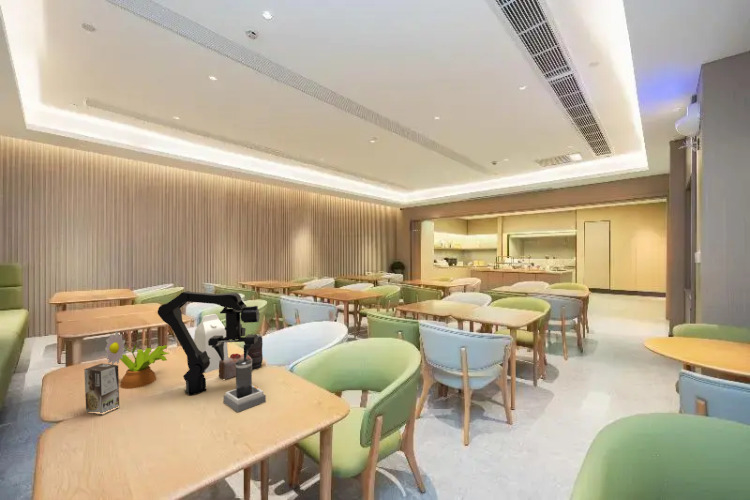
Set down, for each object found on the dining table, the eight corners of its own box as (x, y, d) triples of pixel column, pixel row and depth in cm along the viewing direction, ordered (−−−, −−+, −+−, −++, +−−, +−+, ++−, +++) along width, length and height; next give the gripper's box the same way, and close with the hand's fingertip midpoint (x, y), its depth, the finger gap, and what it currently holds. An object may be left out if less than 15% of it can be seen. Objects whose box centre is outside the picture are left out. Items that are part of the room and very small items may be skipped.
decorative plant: (93, 388, 146) (91, 330, 146) (149, 368, 168) (147, 318, 168) (135, 397, 136) (133, 335, 136) (188, 375, 158) (187, 322, 158)
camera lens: (265, 364, 172) (265, 334, 172) (258, 370, 164) (257, 339, 164) (250, 364, 173) (249, 334, 173) (242, 369, 165) (241, 339, 165)
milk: (216, 361, 178) (215, 311, 178) (228, 365, 171) (227, 314, 171) (193, 368, 168) (191, 315, 168) (205, 373, 162) (203, 318, 161)
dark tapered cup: (236, 400, 127) (235, 365, 127) (236, 393, 132) (235, 360, 132) (252, 397, 129) (251, 363, 129) (252, 391, 134) (251, 358, 134)
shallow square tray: (237, 412, 123) (237, 400, 122) (223, 402, 131) (223, 391, 131) (265, 401, 131) (265, 390, 131) (250, 392, 139) (250, 382, 139)
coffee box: (120, 407, 128) (119, 365, 127) (101, 416, 122) (100, 371, 121) (103, 404, 131) (102, 362, 130) (84, 412, 125) (83, 368, 124)
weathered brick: (245, 368, 167) (244, 348, 167) (253, 372, 162) (253, 351, 161) (217, 377, 156) (216, 355, 156) (225, 381, 151) (224, 359, 151)
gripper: (261, 318, 151) (262, 353, 151) (218, 319, 150) (219, 354, 151) (253, 324, 140) (254, 362, 140) (207, 325, 139) (208, 363, 140)
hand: (234, 360), depth 143 cm, fingers open, 9 cm apart
